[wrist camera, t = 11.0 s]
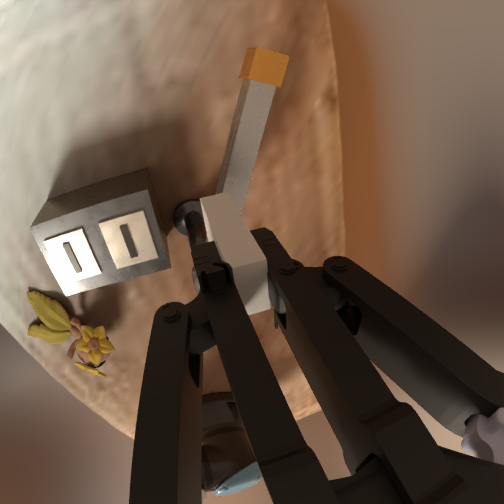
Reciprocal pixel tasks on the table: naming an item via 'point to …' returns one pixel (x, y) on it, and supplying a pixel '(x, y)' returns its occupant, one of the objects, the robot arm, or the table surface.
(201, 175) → the table surface
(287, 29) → the table surface
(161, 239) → the block
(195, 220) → the post
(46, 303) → the figurine
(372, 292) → the robot arm
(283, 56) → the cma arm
